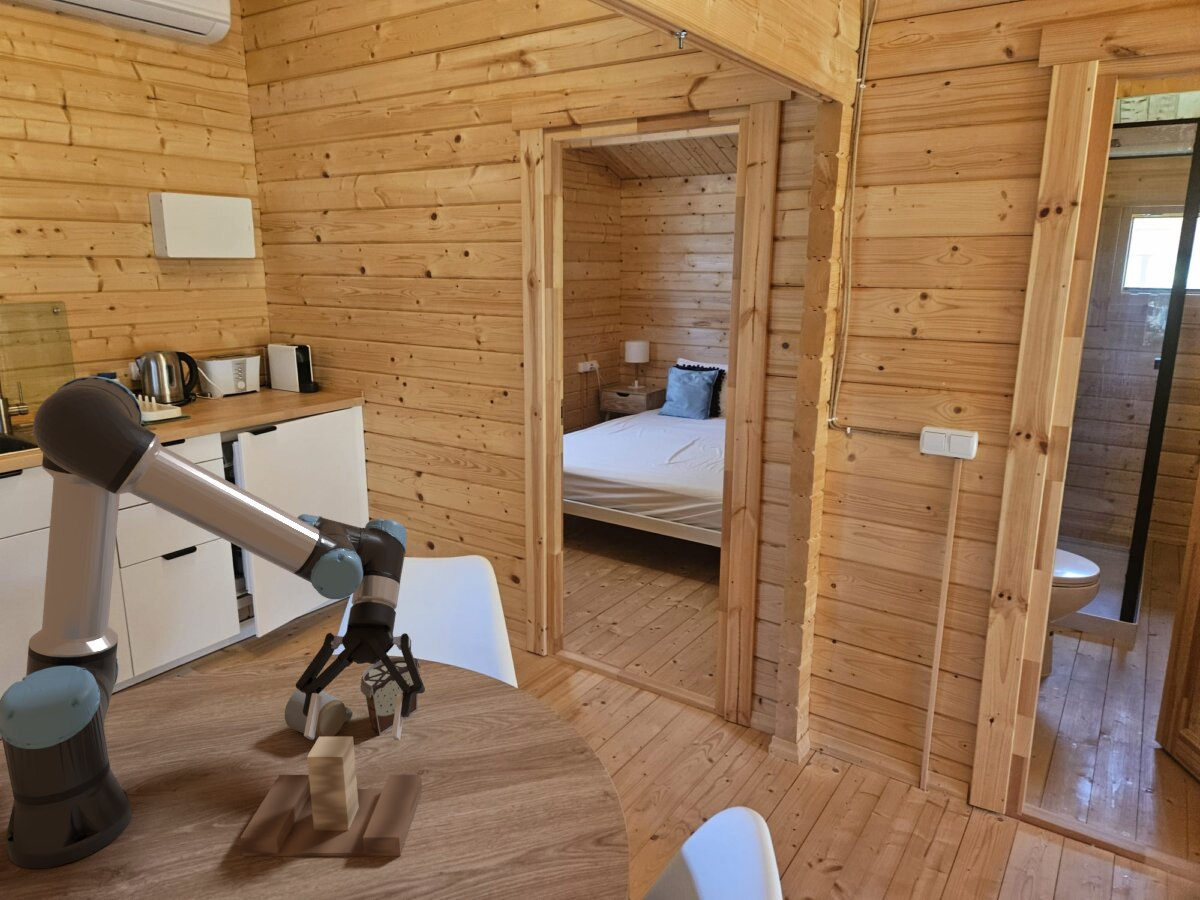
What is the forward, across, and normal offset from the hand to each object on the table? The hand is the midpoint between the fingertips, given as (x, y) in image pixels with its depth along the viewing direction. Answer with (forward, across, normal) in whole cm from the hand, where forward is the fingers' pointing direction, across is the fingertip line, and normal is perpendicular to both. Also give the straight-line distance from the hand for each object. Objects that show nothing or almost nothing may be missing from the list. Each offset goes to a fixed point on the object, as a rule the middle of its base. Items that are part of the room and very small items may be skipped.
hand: (352, 738), depth 125 cm
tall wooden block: (+12, 0, 0) cm, 12 cm away
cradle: (+12, 0, 0) cm, 12 cm away
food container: (-8, +1, -20) cm, 21 cm away
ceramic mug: (-5, +11, -18) cm, 21 cm away
